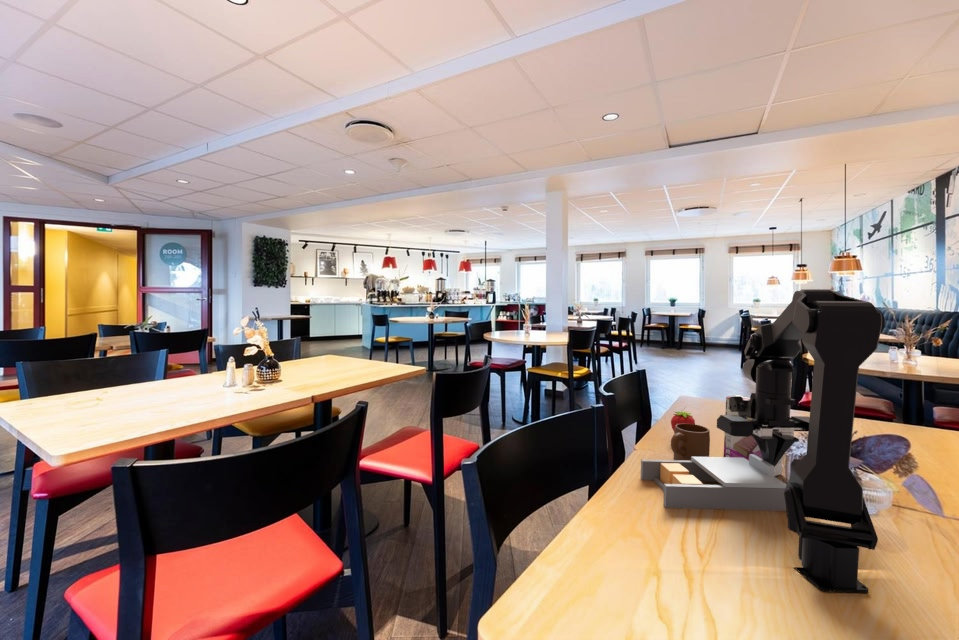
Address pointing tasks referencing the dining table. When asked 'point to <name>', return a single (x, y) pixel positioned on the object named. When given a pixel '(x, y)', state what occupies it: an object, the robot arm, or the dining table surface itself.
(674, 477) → the orange block
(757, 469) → the lid
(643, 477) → the housing
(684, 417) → the strawberry
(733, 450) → the candy bar box
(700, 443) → the mug
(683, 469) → the orange cube
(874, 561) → the dining table surface
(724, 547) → the dining table surface
